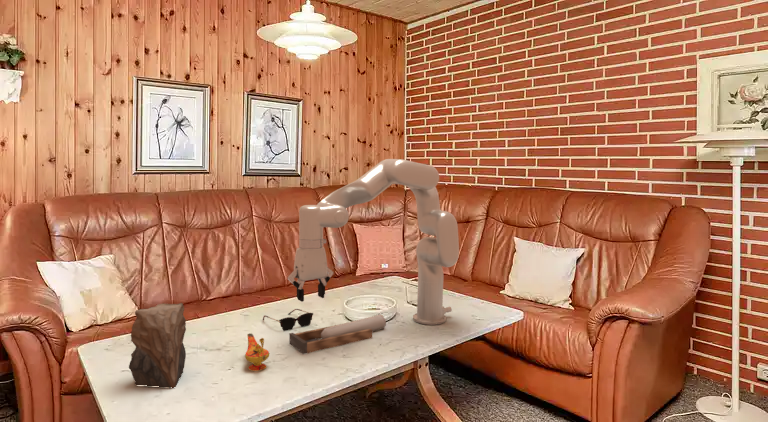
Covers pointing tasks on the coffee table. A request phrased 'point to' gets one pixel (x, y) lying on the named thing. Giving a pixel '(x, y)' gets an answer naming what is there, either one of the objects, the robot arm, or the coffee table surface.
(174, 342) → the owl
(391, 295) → the coffee table surface
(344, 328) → the tube
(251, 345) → the magic lamp
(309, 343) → the trap channel
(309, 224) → the robot arm
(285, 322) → the sunglasses
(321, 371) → the coffee table surface
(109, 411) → the coffee table surface
